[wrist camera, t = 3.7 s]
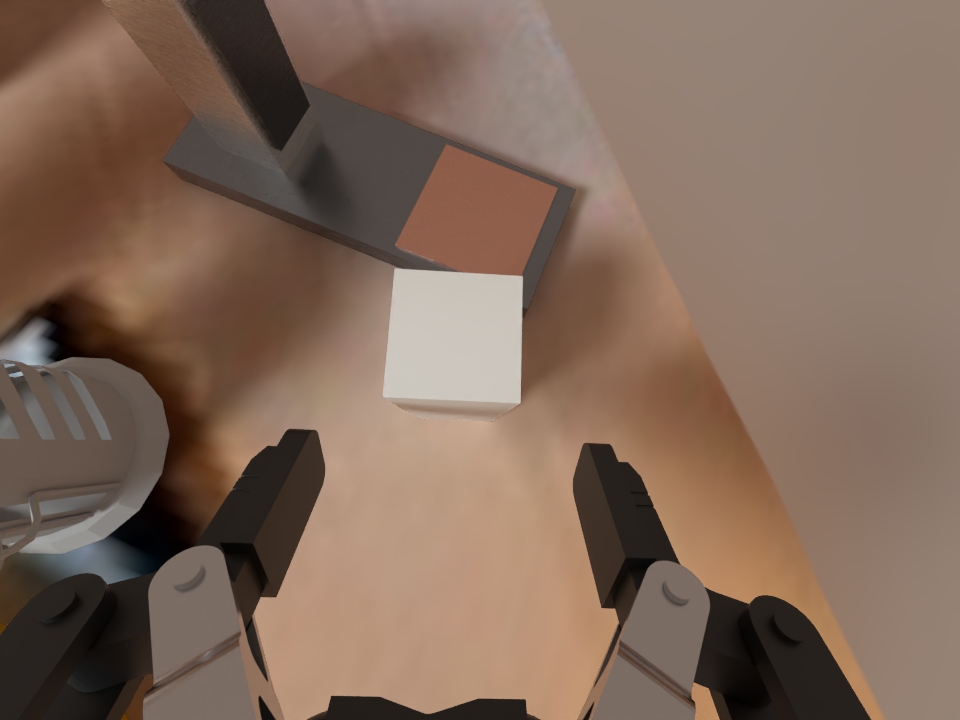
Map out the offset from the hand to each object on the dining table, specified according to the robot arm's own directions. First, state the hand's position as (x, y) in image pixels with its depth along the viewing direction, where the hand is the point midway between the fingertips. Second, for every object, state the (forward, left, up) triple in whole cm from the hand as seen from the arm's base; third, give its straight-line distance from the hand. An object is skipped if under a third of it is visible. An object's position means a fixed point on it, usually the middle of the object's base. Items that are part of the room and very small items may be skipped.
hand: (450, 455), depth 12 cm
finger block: (-1, +3, -9) cm, 10 cm away
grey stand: (-10, +12, -9) cm, 18 cm away
